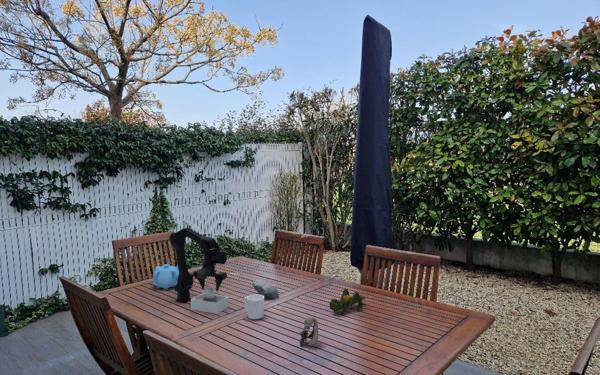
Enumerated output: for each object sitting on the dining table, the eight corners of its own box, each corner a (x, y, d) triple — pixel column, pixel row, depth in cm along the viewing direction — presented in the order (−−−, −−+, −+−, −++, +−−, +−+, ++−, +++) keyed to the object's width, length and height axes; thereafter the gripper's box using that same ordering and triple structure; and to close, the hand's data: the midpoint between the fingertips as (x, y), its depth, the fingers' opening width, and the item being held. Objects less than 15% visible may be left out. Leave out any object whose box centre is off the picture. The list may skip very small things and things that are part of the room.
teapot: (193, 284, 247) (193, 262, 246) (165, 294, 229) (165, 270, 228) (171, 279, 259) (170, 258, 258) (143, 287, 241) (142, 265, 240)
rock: (270, 305, 217) (268, 289, 214) (250, 296, 227) (248, 281, 225) (282, 296, 225) (281, 280, 222) (262, 288, 235) (261, 273, 233)
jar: (203, 298, 205) (203, 288, 205) (208, 295, 210) (208, 286, 209) (210, 299, 203) (210, 290, 203) (216, 296, 208) (216, 287, 207)
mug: (267, 314, 197) (267, 295, 196) (259, 321, 189) (259, 301, 188) (248, 312, 201) (247, 293, 200) (240, 318, 192) (239, 298, 192)
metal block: (203, 306, 205) (203, 297, 205) (208, 303, 210) (208, 294, 210) (211, 308, 204) (210, 299, 203) (216, 305, 208) (216, 296, 208)
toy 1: (296, 339, 168) (305, 309, 168) (313, 343, 169) (322, 314, 169) (297, 348, 160) (307, 317, 159) (315, 352, 161) (325, 321, 160)
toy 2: (369, 306, 209) (369, 288, 208) (340, 319, 192) (340, 299, 191) (354, 301, 216) (354, 284, 216) (325, 313, 199) (325, 294, 199)
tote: (190, 309, 205) (190, 299, 205) (203, 302, 215) (203, 292, 215) (217, 313, 198) (217, 303, 198) (229, 306, 209) (228, 296, 208)
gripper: (185, 263, 201) (186, 292, 202) (215, 267, 194) (215, 297, 195) (198, 259, 212) (199, 286, 213) (227, 262, 204) (227, 290, 205)
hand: (210, 290), depth 206 cm, fingers open, 9 cm apart
